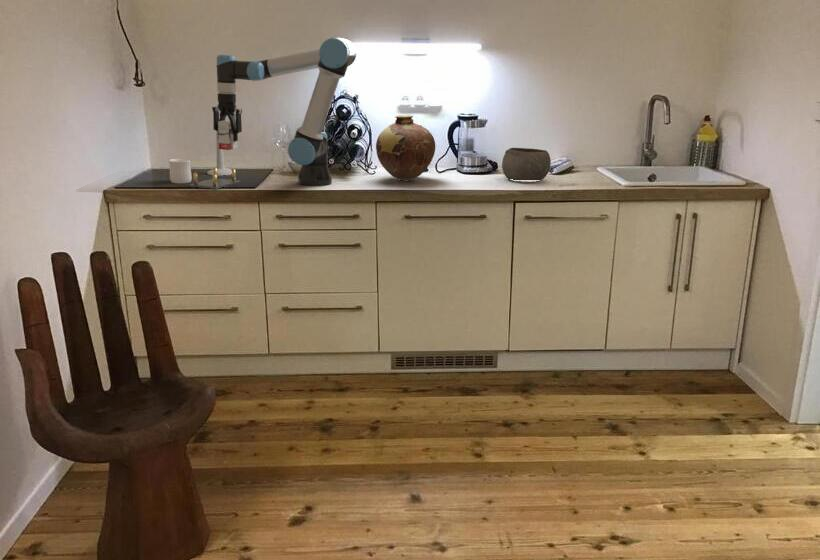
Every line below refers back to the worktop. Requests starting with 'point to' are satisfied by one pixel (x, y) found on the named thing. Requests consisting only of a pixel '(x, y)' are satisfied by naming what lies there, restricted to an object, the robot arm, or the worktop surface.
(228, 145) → the ink box
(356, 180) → the worktop surface
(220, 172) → the candlestick
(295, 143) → the robot arm
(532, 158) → the bowl
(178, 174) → the cup
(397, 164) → the vase
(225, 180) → the chassis
